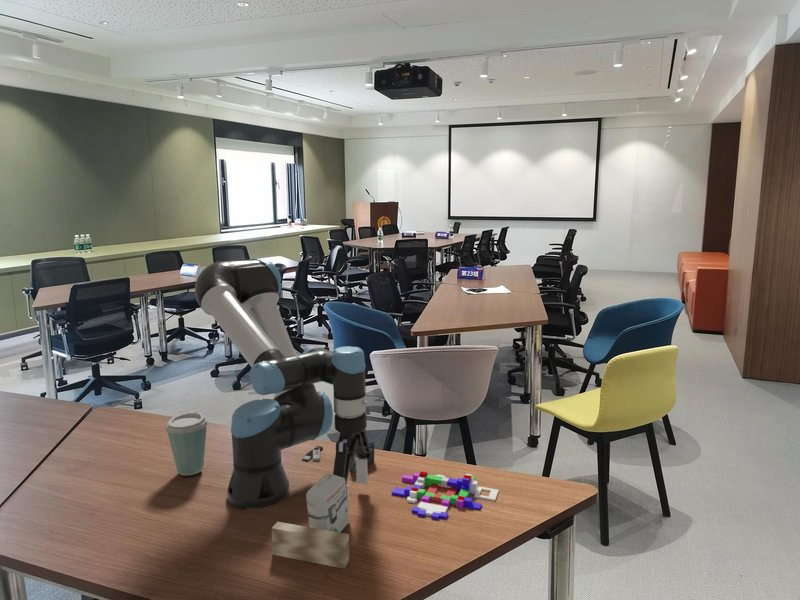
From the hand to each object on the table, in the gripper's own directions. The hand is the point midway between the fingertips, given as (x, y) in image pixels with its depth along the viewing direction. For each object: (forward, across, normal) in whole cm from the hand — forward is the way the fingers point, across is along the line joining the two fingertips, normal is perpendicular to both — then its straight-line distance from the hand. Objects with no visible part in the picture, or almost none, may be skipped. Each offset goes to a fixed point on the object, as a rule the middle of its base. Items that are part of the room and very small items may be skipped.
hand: (353, 496), depth 137 cm
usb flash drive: (+2, +23, +19) cm, 30 cm away
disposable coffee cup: (+1, +4, +49) cm, 49 cm away
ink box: (+1, -13, +1) cm, 13 cm away
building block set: (+3, +9, -20) cm, 23 cm away
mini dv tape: (+2, +20, +4) cm, 20 cm away
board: (+2, -23, +1) cm, 23 cm away
